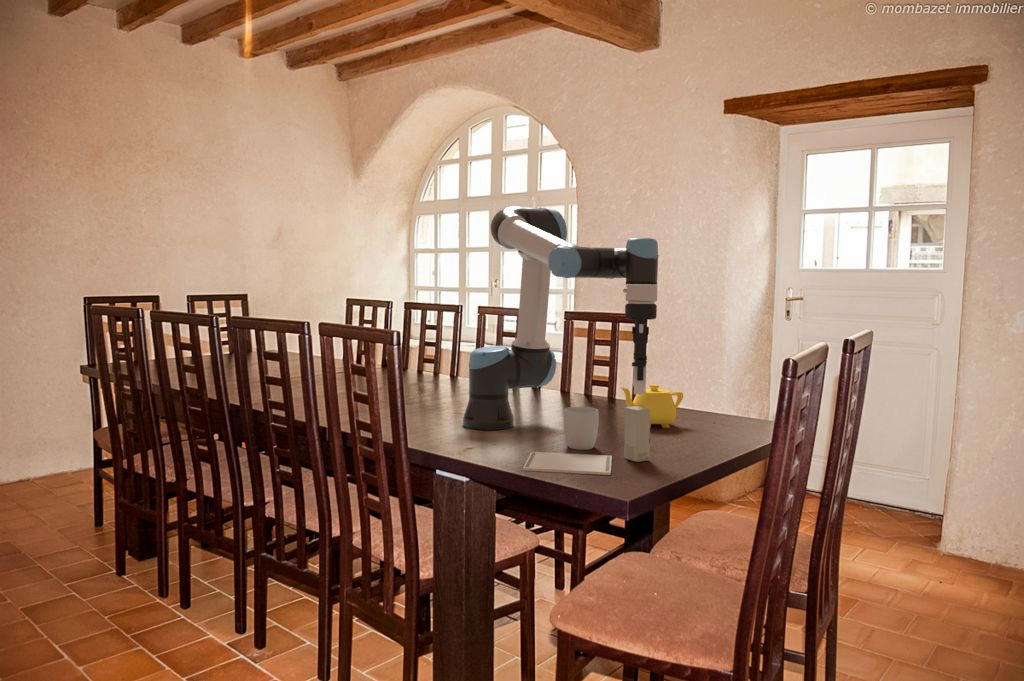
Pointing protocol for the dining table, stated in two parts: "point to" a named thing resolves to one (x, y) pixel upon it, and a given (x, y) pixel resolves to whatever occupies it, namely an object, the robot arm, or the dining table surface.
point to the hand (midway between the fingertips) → (639, 390)
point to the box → (637, 433)
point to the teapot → (656, 404)
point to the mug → (581, 427)
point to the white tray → (569, 463)
